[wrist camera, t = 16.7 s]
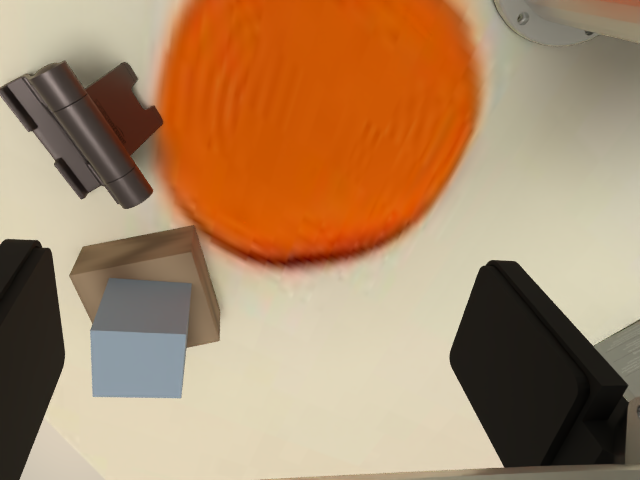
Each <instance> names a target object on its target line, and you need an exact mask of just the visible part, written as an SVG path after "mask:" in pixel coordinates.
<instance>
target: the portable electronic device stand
mask: <svg viewBox="0 0 640 480" xmlns="http://www.w3.org/2000/svg"><path fill="white" fill-rule="evenodd" d="M137 79H138V78H137V76H136V75H135V73H134V72H133V70H132V68H131V67H130V66H129V64H127V63H125V62H124V63H121V64H120V65H119V66H117V67H116V68H114V69H113V70H111V71H110V72H109V73H107V74H106V75H104V76H103V77H101V78H100V79H98V80H97V81H96V82H94V83H93V84H91V85H90V86H88V87H87V88H85V89H84V87H83V86H82V84H81V83H80V81H79V80H78V79H77V77H76V76H75V74H74V73H73V71H72V70H71V68H70V67H69V65H68V64H67V62H66V61H63V62H60V63H52V64H49V65H47V66H44V67H43V68H41V69H40V70H38V71H37V72H36V74H35V75H34V76H30V75H28V74H25V75H23V76H21V77H19V78H17V79H15V80H13V81H11V82H9V83H7V84H5V85H4V86H2V87H0V96H1V97H2V99H3V100H4V101H5V102H6V104H7V105H8V106H9V108H10V109H11V110H12V111H13V113H14V114H15V115H16V117H17V118H18V119H19V120H20V122H21V123H22V124H23V126H24V127H25V128H26V129H27V131H28V132H30V131H33V132H34V134H35V135H36V136H37V137H38V139H39V140H40V141H41V143H42V144H43V145H44V147H45V148H46V149H47V150H48V152H49V153H50V154H51V156H52V157H53V158H54V160H55V163H54V165H55V167H56V168H57V169H58V171H59V172H60V173H61V174H62V176H63V177H64V178H65V180H66V181H67V182H68V183H69V185H70V186H71V187H72V189H73V190H74V191H75V192H76V194H77V195H78V196H79V197H80V199H83V198H85V197H86V196H87V194H88V193H89V192H91V191H92V190H94V189H96V188H97V187H99V186H101V185H102V186H105V188H106V189H107V190H108V192H109V193H110V194H111V196H112V197H113V199H114V200H115V201H116V203H117V204H120V205H121V206H122V207H123V208H124V209H129V208H132V207H134V206H136V205H138V204H140V203H142V202H143V201H145V200H146V199H147V198H148V197H149V196H150V195H151V194H152V193H153V189H152V188H151V186H150V185H149V183H148V182H147V180H146V179H145V177H144V176H143V174H142V173H141V171H140V170H139V168H138V167H137V165H136V164H135V162H134V161H133V160H132V158H131V157H130V156H131V155H132V154H133V153H134V152H135V151H136V150H137V149H138V148H139V147H140V146H141V145H142V144H143V143H144V142H145V141H146V140H147V139H148V138H149V137H150V136H151V135H152V134H153V133H154V132H155V131H156V130H157V129H158V128H159V127H160V126H161V125H162V123H163V121H162V118H161V116H160V114H159V112H158V111H157V109H156V108H155V106H152V107H150V108H148V109H146V110H144V109H143V108H142V107H141V105H140V104H139V102H138V101H137V99H136V97H135V96H134V94H133V93H132V90H131V88H132V86H133V84H134V83H135V82H136V81H137Z"/></svg>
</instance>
